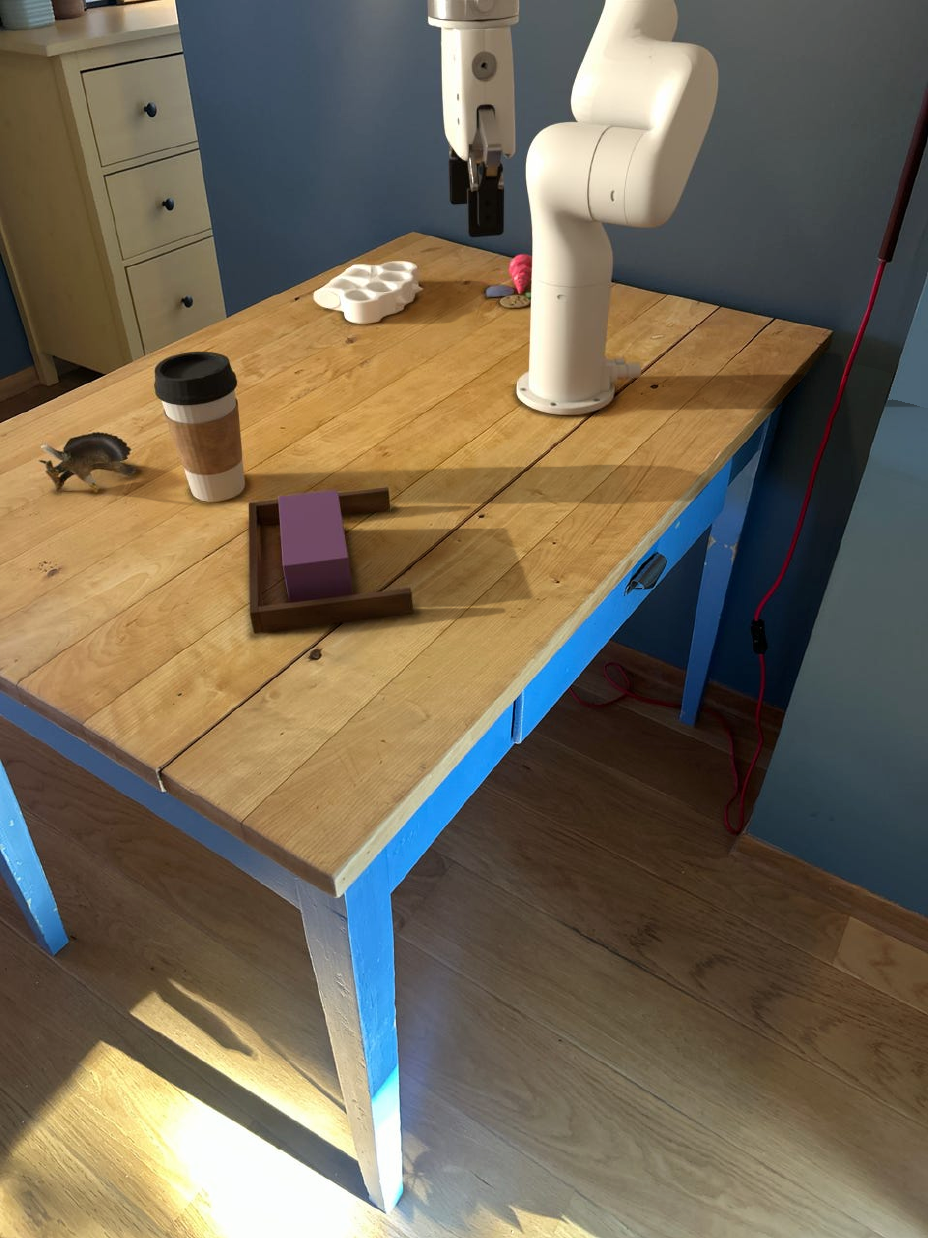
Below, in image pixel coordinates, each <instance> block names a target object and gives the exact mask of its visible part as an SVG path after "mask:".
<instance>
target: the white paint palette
mask: <svg viewBox="0 0 928 1238" xmlns="http://www.w3.org/2000/svg"><path fill="white" fill-rule="evenodd" d="M423 290H424V288H423V287H421V286H419V267H418V266H417V264H415V263H413V262H410V261H405V260H393V261H388V262H384V263H382V264H367V263H366V264H365V263H358V264H353V265H351V266H349V267H348V268H346V269H345V271H343V272H342V273H341V274H339V275H337V276H336V277H334V278H332V279H331V280H330V281H329V282H328V283H327V284H325V285H324V286H322V287H321V288H319V289H317V290H315V291H314V292H313V300H314V302H315V303H316V304H318V306H320V307H322V308H324V309H325V308H326V309H329V310H332V311H337V312H343V313H344V318H345V319H346V320H347V321H348V322H350V323H352V324H359V325H369V324H375V323H379V322H380V321H381V320H382V319H383V318H384V317H386V316H390V315H393V314H395V315H396V314H397V313H399V312H401V311H404V309H405V306H406V305H407V304H410V303H413V301H414V299H415V297H416V294H418V293H419V292H421V291H423Z"/></svg>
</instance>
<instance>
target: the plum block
mask: <svg viewBox="0 0 928 1238" xmlns="http://www.w3.org/2000/svg"><path fill="white" fill-rule="evenodd" d="M338 493H339V490H338V489H328V490H321V491H311V492H304V493H303V492H302V493H296V494H294V493H293V494H286V495H279V496H277V497H278V499H279V514H280V523H279V525H280V526H279V528H280V543H281V556H282V557H281V558H282V568H283V569H282V570H283V574H284V580H285V584H286V590H287V596H288V603H293V602H301V601H309V600H316V599H324V598H332V597H340V596H348V595H354V593H353V585H352V576H351V567H350V560H349V553H348V547H347V540H346V534H345V527H344V522H343V515H342V514H341V508H340V502H339V495H338Z"/></svg>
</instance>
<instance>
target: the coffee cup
mask: <svg viewBox="0 0 928 1238" xmlns="http://www.w3.org/2000/svg"><path fill="white" fill-rule="evenodd" d="M237 386H238V379H237V375H236V373H235V372H234V371H233V368H232V365H231V362H230V358H229V357H228V356H227V355H225V354H222V353H219V352H213V351H188V352H181V353H179V354H178V353H177V354H174V355H172V356H168V357H166V358H164V359H163V360H161V361H160V362H158V364H156V366H155V367H154V383H153V387H154V392H155V393H154V394H155V396H156V398H157V399H159V400H160V401H161V403H162V406H163V415H164V418H165V421H166V423H167V427H168V429H169V431H170V435H171V438H172V440H173V443H174V446H175V448H176V452H177V454H178V457H179V460H180V462H181V466H182V467H183V470H184V473H185V476H186V479H187V482H188V485H189V488H190V491H191V494H192V495H193V497H195V498H196V499H198V500H199V501H203V502H207V503H217V502H223V501H228V500H230V499H233V498H235V497H238V495H240V494H242V492H243V490H244V489H245V486H246V480H245V471H244V462H243V447H242V436H241V424H240V412H239V402H238V399H237V397H236V388H237Z"/></svg>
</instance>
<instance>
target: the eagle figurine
mask: <svg viewBox="0 0 928 1238" xmlns="http://www.w3.org/2000/svg"><path fill="white" fill-rule="evenodd" d="M40 448H41V449H42V450H43V451H44V452H45V453H46V454H48V455H50V456H51V457H54V458H55V459H57V460H59V461H61V462H59V464H57V465H55V466H54V465H53V461H52V460H43V459H39V460H38V462H40V463H42V464H43V465H45V468H46V470H45V474H46V476H48V477H49V478H50V480H51V481H52V483H53V484H54V486H55V491H56V492H59V491H61V490H62V488H63V487H64V485H65V483H66V481H67V480H68V479H70V478H71V477H73V476H76V477H77V478H78V479H80V480H81V481H83V482H84V483H86V484H87V485H88V486H89V487H90V488H91V489H92V490H93V492H94V493H98V491H99V489H98V485H97V481H96V479H95V478H94V477H93V475H92V473H91V472H93V471H95V470H103V471H108V472H114V473H118V474H122V475H125V476H131V475H134V474H135V473H136V472H137V470H136V468H135V467H133V466H132V465H131V464H126V463H125V462H124V461H126V460H128V456H130V455H131V451H132V448H131V447H129V446H128V443H127V442H125V441H124V440H123V439H122V438H119V437H118V435H113V434H112V433H108V432H102V431H101V432H100V431H96V432H95V431H94V432H91V433H86V434H81V435H78V436H74V437H71V438H69V439H68V440H67V441H66V443H65V445H64V446H63V447H62V450H57V449H56V448H54V447H52V446H50V445H48V444H44V445H41V446H40Z"/></svg>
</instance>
